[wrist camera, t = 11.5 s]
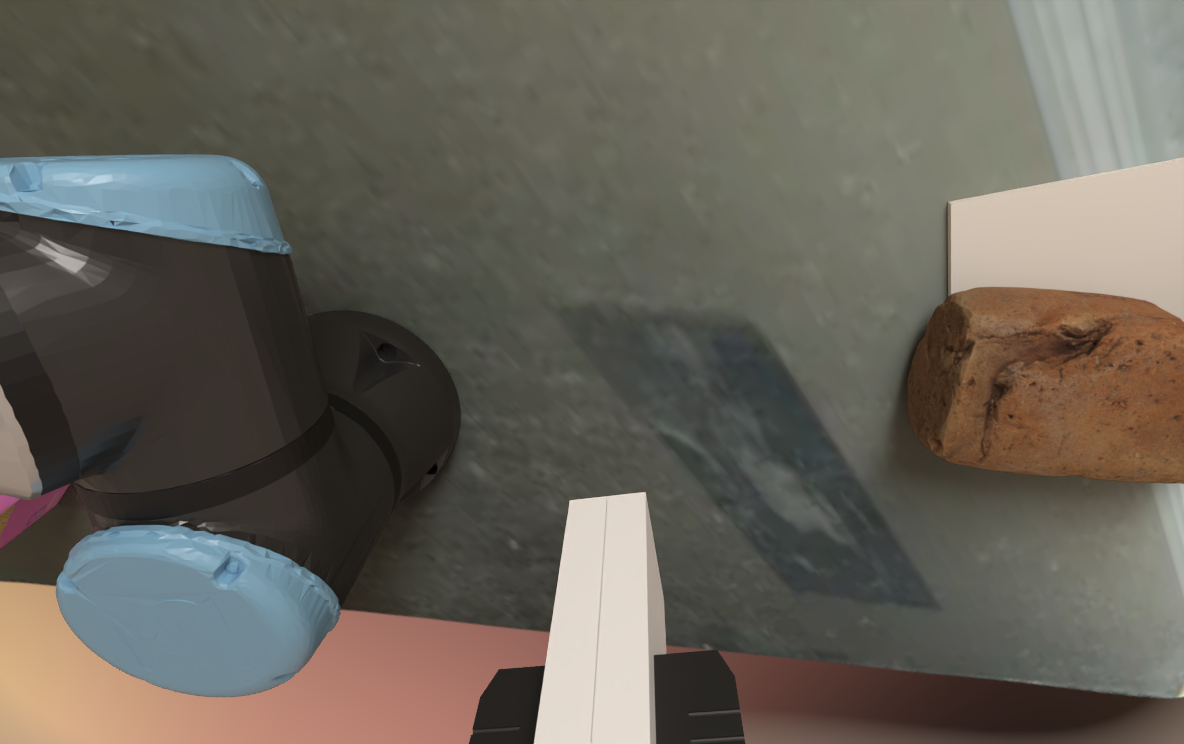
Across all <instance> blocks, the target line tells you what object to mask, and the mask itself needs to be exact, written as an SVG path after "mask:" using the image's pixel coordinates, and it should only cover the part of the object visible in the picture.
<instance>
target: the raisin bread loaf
mask: <svg viewBox="0 0 1184 744" xmlns="http://www.w3.org/2000/svg"><path fill="white" fill-rule="evenodd" d="M907 387H908V401H907V402H908V414H909V422H910V424H911V427H912V430H913V432H914V433H915V434H916V436H917V437H918V438H919V440H920V441H921V442H922V443H923V444H924V445H925V446H926V447H927V448H928V449H929V450H931V452H933V453H934V454H935V455H937V456H938V457H940V458H942V459H943V460H945V461H947V462H951V463H955V464H961V465H966V466H971V467H976V468H981V469H987V470H994V471H1002V472H1010V473H1020V474H1029V475H1039V476H1056V477H1060V476H1069V475H1078V476H1080V477H1083V478H1091V479H1100V480H1111V481H1124V482H1149V483H1183V484H1184V321H1182V320H1181V318H1179V317H1177V316H1175V315H1173V314H1171V313H1169V312H1167V311H1165V310H1163V309H1161V308H1159V307H1158V306H1157V305H1155V304H1153V303H1151V302H1148V301H1145V300H1140V299H1135V298H1129V297H1122V296H1114V295H1107V294H1099V293H1087V292H1076V291H1066V290H1055V289H1039V288H1024V287H978V288H973V289H969V290H967V291H960V292H957V293H953V294H951V295H950V296H949V297H948V298H947V299H946V300H945V302H944V303H943V304H941V305H939V306H937V308H936V309H935V311H934V313H933V315H932V317H931V319H930V321H929V323H928V325H927V327H926V332H925V336H924V338H923V339H922V340H921V341H920V342H919V344H918V346H917V348H916V351H915V355H914V357H913V360H912V364H911V367H910V371H909V375H908V385H907Z"/></svg>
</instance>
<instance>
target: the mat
mask: <svg viewBox="0 0 1184 744" xmlns="http://www.w3.org/2000/svg"><path fill="white" fill-rule="evenodd" d="M978 287H1024V288H1039V289H1055V290H1066V291H1076V292H1087V293H1099V294H1107V295H1114V296H1122V297H1129V298H1135V299H1140V300H1145V301H1148V302H1151V303H1153V304H1155V305H1157V306H1158V307H1159V308H1161V309H1163V310H1165V311H1167V312H1169V313H1171V314H1173V315H1175V316H1177V317H1179V318H1181V320H1182V321H1184V158H1178V159H1173V160H1168V161H1162V162H1157V163H1152V164H1146V165H1141V166H1136V167H1130V168H1125V169H1120V170H1115V171H1109V172H1104V173H1099V174H1093V175H1088V176H1083V177H1077V178H1072V179H1067V180H1061V181H1056V182H1051V183H1045V184H1040V185H1035V186H1030V187H1024V188H1019V189H1014V190H1008V191H1003V192H998V193H992V194H987V195H982V196H976V197H971V198H966V199H960V200H955V201H950V202H948V297H949V296H950V295H951V294H953V293H957V292H960V291H967V290H969V289H973V288H978Z"/></svg>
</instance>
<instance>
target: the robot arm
mask: <svg viewBox="0 0 1184 744" xmlns="http://www.w3.org/2000/svg"><path fill="white" fill-rule="evenodd" d="M292 254H293V251H292V247H291V246H290V245H289V243H287V242H286V241H285V240H284V237H283V234H282V231H281V228H280V225H279V222H278V219H277V216H276V213H275V210H274V207H273V204H272V201H271V198H270V195H269V192H268V189H267V186H266V184H265V183H264V181H263V179H262V178H261V177H260V175H259V174H258V173H257V172H256V171H255V170H254V169H253V168H251V167H250V166H249V165H247V164H245V163H244V162H242V161H240V160H238V159H235V158H232V157H228V156H220V155H111V156H55V157H20V158H0V494H1V495H6V496H10V497H15V498H19V499H24V500H32V499H35V498H37V497H40V496H42V495H44V494H47V493H49V492H51V491H54V490H56V489H58V488H61V487H63V486H65V485H68V484H70V483H72V482H73V484H74V486H75V488H76V490H77V492H78V494H79V496H80V498H81V501H82V503H83V505H84V507H85V509H86V511H87V514H88V516H89V518H90V520H91V522H92V525H93V535H88V536H86V537H85V538H83V539H82V540H81V541H80V542H78V543H77V544H76V545H75V546H74V547H73V548H72V549H71V551H70V553H69V556H68V560H67V561H66V563H65V564H64V570H63V571H62V572H61V574H60V575H59V577H58V579H57V587H56V597H57V601H58V603H59V607H60V610H61V613H62V615H63V617H64V619H65V621H66V622H67V624H68V625H69V627H70V628H71V630H72V631H73V632H74V633H75V634H76V635H77V637H78V638H79V639H80V640H81V641H82V642H83V643H84V644H85V645H86V646H87V647H88V648H89V649H90V650H92V651H93V652H94V653H95V654H97V655H98V656H99V657H101V658H102V659H104V660H105V661H107V662H108V663H110V664H111V665H113V666H114V667H116V668H118V669H119V670H121V671H123V672H125V673H127V674H129V675H131V676H133V677H136V678H139V679H142V680H145V681H146V682H149V683H151V684H153V685H156V686H158V687H162V688H164V689H168V690H172V691H175V692H180V693H185V694H190V695H197V696H206V697H237V696H245V695H251V694H256V693H260V692H263V691H266V690H269V689H272V688H274V687H276V686H278V685H280V684H282V683H284V682H286V681H288V680H289V679H291V678H292V677H293V676H294V675H295V674H296V673H298V672H299V671H300V670H301V668H303V667H304V666H305V665H306V664H307V662H308V661H309V660H310V659H311V657H312V656H313V654H314V652H315V651H316V649H317V648H318V646H319V645H320V643H321V642H322V640H323V639H324V637H325V636H326V634H327V633H328V632H329V631H331V630H332V629H333V628H334V627H335V625H336V623H337V621H338V619H339V615H340V612H339V611H340V609H341V607H342V605H343V603H344V601H345V599H346V598H347V596H348V594H349V592H350V590H351V588H352V586H353V584H354V583H355V581H356V579H357V577H358V575H359V573H360V571H361V569H362V568H363V566H364V564H365V562H366V560H367V558H368V556H369V554H370V553H371V551H372V549H373V547H374V545H375V543H376V541H377V539H378V538H379V536H380V534H381V532H382V530H383V528H384V526H385V524H386V523H387V521H388V519H389V516H390V515H391V513H392V511H393V510H394V509H395V508H397V507H398V506H399V505H401V504H402V503H404V502H405V501H406V500H408V499H409V498H411V497H412V496H413V495H415V494H416V493H418V492H419V491H420V490H422V489H423V488H424V487H426V486H427V485H428V484H429V483H430V482H431V481H432V480H433V479H434V478H435V477H436V476H437V475H438V473H439V472H440V471H441V469H442V468H443V466H444V465H445V463H446V461H447V459H448V457H449V455H450V453H451V451H452V449H453V447H454V444H455V442H456V439H457V436H458V432H459V426H460V405H459V399H458V395H457V391H456V388H455V385H454V383H453V381H452V378H451V376H450V374H449V373H448V371H447V369H446V367H445V366H444V364H443V363H442V361H441V360H440V359H439V357H438V356H437V355H436V354H435V353H434V352H433V350H432V349H431V348H430V347H429V346H428V345H427V344H425V343H424V342H423V341H422V340H421V339H420V338H418V337H417V336H416V335H415V334H413V333H412V332H410V331H409V330H407V329H405V328H404V327H402V326H400V325H398V324H396V323H394V322H392V321H390V320H387V319H385V318H382V317H379V316H376V315H372V314H368V313H364V312H357V311H330V312H323V313H319V314H315V315H312V316H309V317H307V316H306V312H305V308H304V305H303V301H302V297H301V294H300V290H299V286H298V282H297V279H296V275H295V271H294V268H293V264H292V260H291V257H290V255H292ZM469 744H745V740H744V733H743V727H742V720H741V714H740V707H739V701H738V695H737V688H736V681H735V676H734V674H733V673H732V671H731V670H730V668H729V667H728V665H727V664H726V662H725V661H724V659H723V658H722V657H721V655H720V654H719V652H718V651H717V650H710V651H698V652H685V653H673V654H666V636H665V615H664V598H663V592H662V586H661V580H660V574H659V569H658V563H657V557H656V551H655V545H654V539H653V533H652V527H651V522H650V516H649V510H648V504H647V498H646V492H642V493H633V494H624V495H615V496H606V497H597V498H588V499H579V500H570V503H569V510H568V517H567V523H566V530H565V537H564V543H563V550H562V557H561V564H560V570H559V577H558V584H557V591H556V597H555V604H554V611H553V618H552V624H551V631H550V638H549V645H548V651H547V658H546V665H545V666H535V667H523V668H511V669H499V670H498V672H497V673H496V675H495V676H494V678H493V679H492V681H491V682H490V684H489V685H488V687H487V688H486V690H485V691H484V692H483V694H482V695H481V697H480V701H479V705H478V709H477V713H476V717H475V721H474V725H473V735H471V738H470V742H469Z"/></svg>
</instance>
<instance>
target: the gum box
mask: <svg viewBox="0 0 1184 744" xmlns="http://www.w3.org/2000/svg"><path fill="white" fill-rule="evenodd" d="M70 484H71V483H70ZM70 484H68V485H65V486H63V487H61V488H58V489H56V490H54V491H51V492H49V493H47V494H44V495H42V496H40V497H37V498H35V499H32V500H24V499H19V498H15V497H10V496H6V495H1V494H0V549H1V548H2V547H4V546H5V545H6V544H7V543H9V542H10V541H11V540H12V539H14V538H15V537H16V536H17V535H19V534H20V533H21V532H22V531H24V530H25V529H26V528H28V527H29V526H30V525H32V524H33V523H34V522H35V521H36V520H38V519H39V518H40V517H42V516H43V515H44V514H45V513H47V512H48V511H49V510H51V509H52V508H53V507H54V506H56V505H57V504H58V502H59V500H60V499H61V497H62V496H63V494H64V493H65V491H66V489H67V488H68V487H69V485H70Z"/></svg>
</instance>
